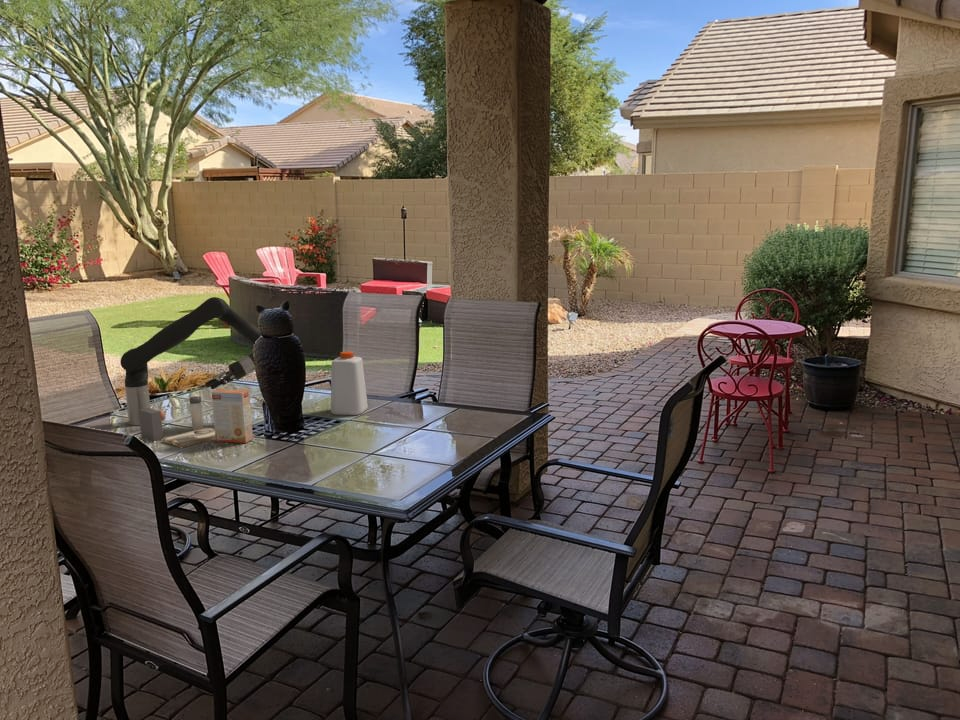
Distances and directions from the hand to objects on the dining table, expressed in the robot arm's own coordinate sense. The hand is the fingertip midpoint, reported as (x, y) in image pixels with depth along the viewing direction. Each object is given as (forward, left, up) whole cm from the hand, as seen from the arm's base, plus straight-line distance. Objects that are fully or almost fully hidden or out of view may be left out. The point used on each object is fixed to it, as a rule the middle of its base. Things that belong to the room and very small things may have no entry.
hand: (208, 386), depth 320 cm
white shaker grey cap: (-4, -4, -19) cm, 20 cm away
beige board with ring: (+8, -13, -19) cm, 24 cm away
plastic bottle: (+28, +54, -19) cm, 64 cm away
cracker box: (+24, -5, -19) cm, 31 cm away
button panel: (-7, -23, -19) cm, 30 cm away
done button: (-7, -19, -12) cm, 23 cm away
